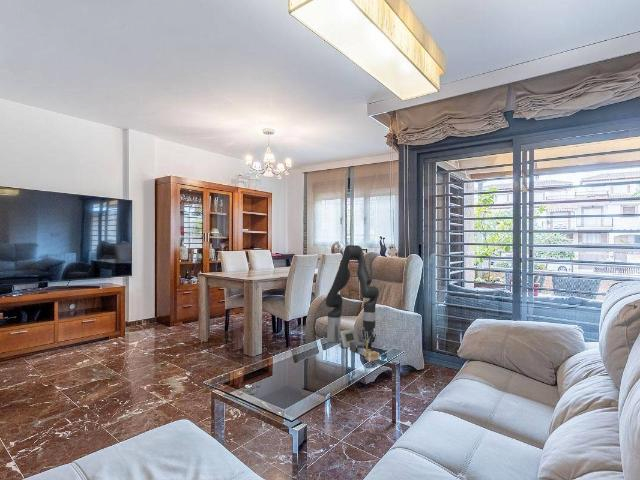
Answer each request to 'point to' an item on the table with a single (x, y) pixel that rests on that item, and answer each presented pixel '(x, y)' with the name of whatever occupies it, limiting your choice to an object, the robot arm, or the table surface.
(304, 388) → the table surface
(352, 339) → the digital clock
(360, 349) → the tube
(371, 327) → the robot arm
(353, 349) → the sleeve
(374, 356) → the tan block
